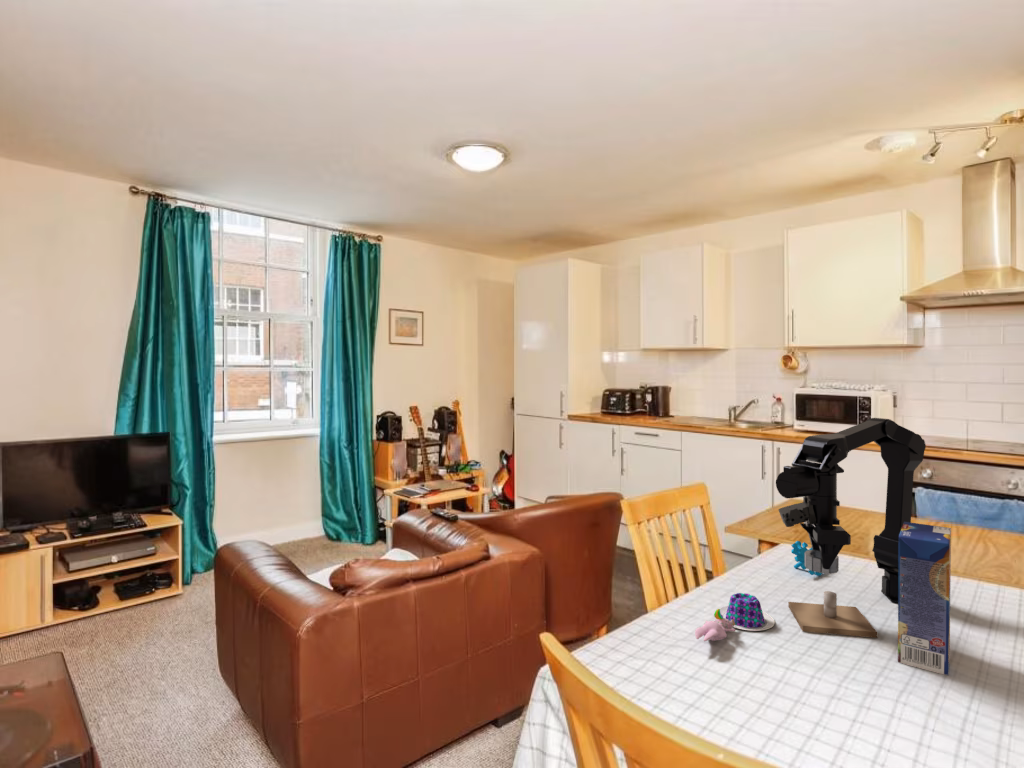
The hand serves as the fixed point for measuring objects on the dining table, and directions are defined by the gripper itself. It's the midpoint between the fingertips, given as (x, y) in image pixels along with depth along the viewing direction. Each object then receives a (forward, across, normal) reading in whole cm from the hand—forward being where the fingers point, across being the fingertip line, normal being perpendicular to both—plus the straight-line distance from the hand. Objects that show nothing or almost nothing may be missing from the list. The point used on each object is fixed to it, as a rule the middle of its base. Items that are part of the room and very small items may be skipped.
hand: (821, 563), depth 123 cm
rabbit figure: (+12, +16, -24) cm, 31 cm away
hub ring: (+1, 0, 0) cm, 1 cm away
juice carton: (+12, +14, +14) cm, 23 cm away
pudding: (+13, +5, -17) cm, 21 cm away
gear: (+12, -28, +4) cm, 31 cm away
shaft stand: (+12, +2, +1) cm, 12 cm away
